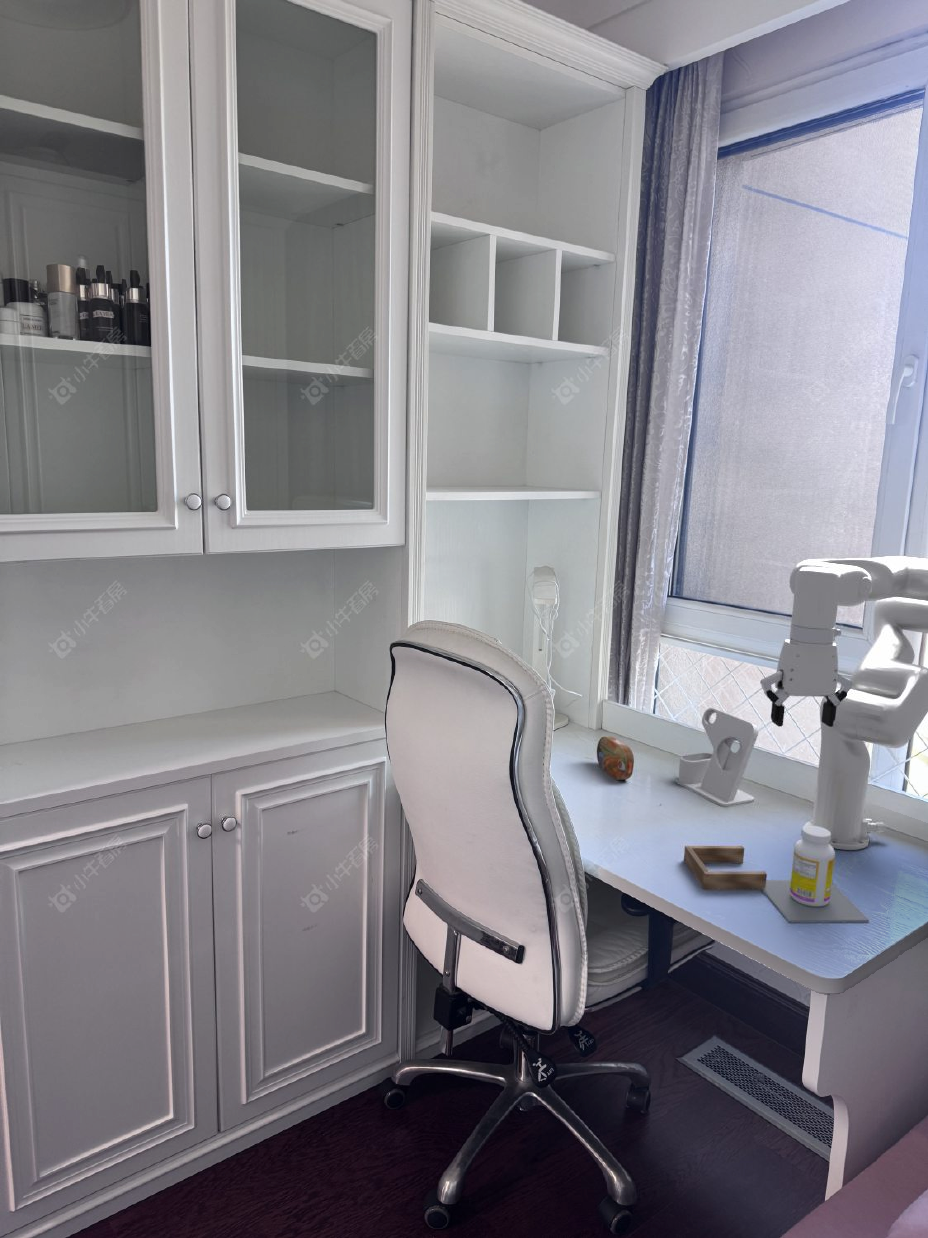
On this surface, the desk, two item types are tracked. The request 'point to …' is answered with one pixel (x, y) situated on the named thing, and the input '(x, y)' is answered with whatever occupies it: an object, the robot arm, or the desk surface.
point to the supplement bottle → (812, 867)
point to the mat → (797, 912)
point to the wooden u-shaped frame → (721, 879)
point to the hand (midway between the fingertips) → (802, 724)
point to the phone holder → (720, 760)
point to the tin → (615, 758)
